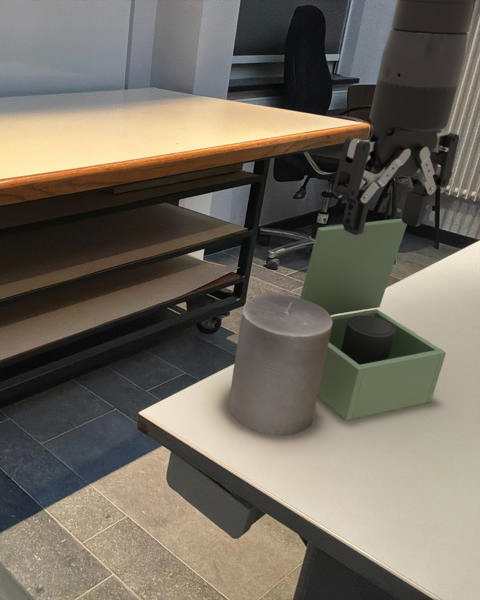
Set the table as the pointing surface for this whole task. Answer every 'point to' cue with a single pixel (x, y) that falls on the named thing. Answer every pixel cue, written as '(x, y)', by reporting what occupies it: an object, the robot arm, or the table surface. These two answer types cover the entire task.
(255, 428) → the pillar candle
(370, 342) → the dark grey cylinder
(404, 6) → the robot arm
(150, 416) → the table surface
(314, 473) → the table surface
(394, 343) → the bread box
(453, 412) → the table surface
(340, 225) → the lid
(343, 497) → the table surface
